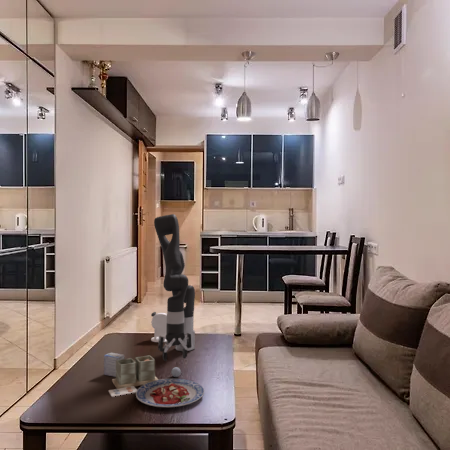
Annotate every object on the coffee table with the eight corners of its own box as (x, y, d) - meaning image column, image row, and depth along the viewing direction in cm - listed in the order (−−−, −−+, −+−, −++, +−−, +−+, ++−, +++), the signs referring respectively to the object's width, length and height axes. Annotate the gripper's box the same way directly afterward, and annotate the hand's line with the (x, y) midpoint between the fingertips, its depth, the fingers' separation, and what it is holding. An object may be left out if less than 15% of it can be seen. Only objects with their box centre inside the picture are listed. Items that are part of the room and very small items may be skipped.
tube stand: (152, 374, 180) (152, 354, 180) (158, 382, 172) (158, 360, 172) (112, 381, 173) (112, 359, 173) (117, 389, 165) (117, 366, 165)
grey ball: (178, 374, 181) (178, 365, 181) (181, 377, 178) (182, 368, 178) (169, 375, 179) (169, 366, 179) (173, 379, 176) (173, 369, 176)
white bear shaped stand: (174, 337, 240) (174, 311, 240) (169, 342, 229) (170, 315, 229) (153, 336, 241) (154, 310, 241) (148, 341, 230) (148, 314, 230)
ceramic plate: (124, 393, 161) (124, 385, 161) (182, 379, 177) (182, 372, 176) (155, 419, 140) (155, 410, 140) (217, 400, 156) (217, 392, 156)
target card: (133, 386, 167) (133, 385, 167) (137, 392, 162) (137, 391, 162) (108, 391, 163) (108, 390, 163) (111, 397, 157) (111, 395, 157)
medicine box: (124, 374, 181) (125, 354, 181) (118, 378, 177) (118, 357, 177) (110, 371, 184) (110, 352, 184) (103, 375, 180) (103, 354, 180)
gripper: (187, 318, 185) (187, 354, 185) (156, 321, 179) (156, 359, 178) (194, 321, 178) (193, 359, 178) (162, 324, 172) (161, 364, 172)
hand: (174, 359), depth 178 cm, fingers open, 8 cm apart
